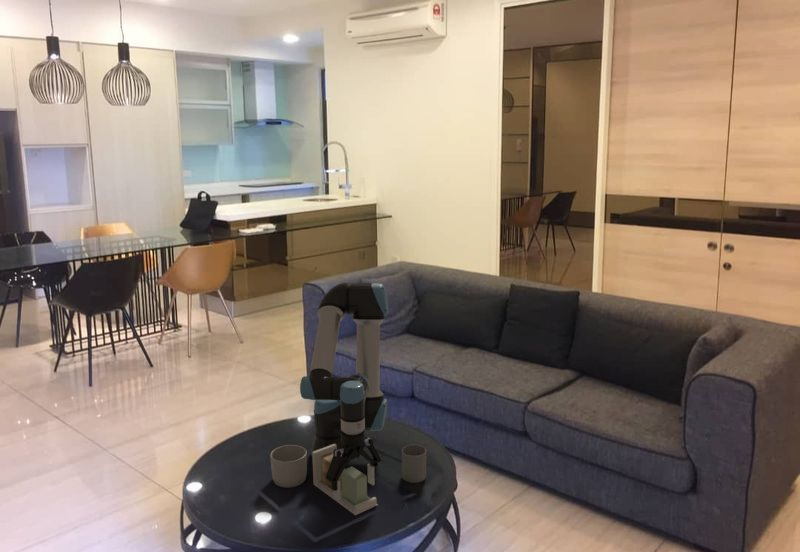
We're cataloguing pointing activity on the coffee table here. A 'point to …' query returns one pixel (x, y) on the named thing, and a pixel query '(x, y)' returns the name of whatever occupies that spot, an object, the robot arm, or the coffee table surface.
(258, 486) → the coffee table surface
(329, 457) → the oak panel
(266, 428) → the coffee table surface
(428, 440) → the coffee table surface
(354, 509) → the track
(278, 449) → the planter
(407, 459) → the cup
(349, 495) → the green panel
